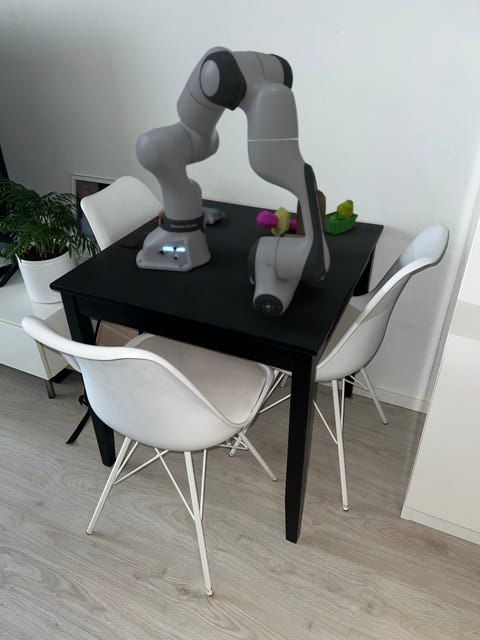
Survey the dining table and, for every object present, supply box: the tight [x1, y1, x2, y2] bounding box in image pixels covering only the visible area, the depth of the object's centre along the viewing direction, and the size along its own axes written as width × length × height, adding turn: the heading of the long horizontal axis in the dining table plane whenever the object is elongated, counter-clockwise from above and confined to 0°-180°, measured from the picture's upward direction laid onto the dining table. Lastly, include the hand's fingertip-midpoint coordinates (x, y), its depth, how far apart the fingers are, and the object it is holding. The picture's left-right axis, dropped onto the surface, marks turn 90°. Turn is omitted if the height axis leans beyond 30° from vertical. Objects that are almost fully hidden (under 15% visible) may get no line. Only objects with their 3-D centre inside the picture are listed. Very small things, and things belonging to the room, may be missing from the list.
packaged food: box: [203, 206, 226, 225], centre depth 179 cm, size 9×12×5 cm
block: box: [295, 189, 327, 236], centre depth 150 cm, size 11×8×20 cm
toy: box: [256, 206, 296, 238], centre depth 168 cm, size 10×18×10 cm, turn 108°
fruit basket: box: [325, 199, 359, 236], centre depth 169 cm, size 11×9×11 cm
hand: (292, 253), depth 141 cm, fingers closed on maple block, 5 cm apart
